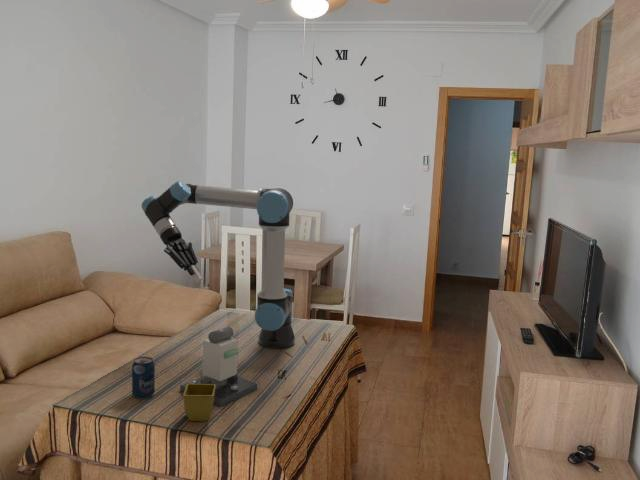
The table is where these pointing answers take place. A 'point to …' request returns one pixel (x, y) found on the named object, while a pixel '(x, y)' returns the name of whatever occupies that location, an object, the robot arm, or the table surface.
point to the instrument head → (220, 355)
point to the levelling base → (226, 388)
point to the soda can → (143, 377)
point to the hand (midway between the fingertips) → (199, 281)
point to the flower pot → (199, 401)
